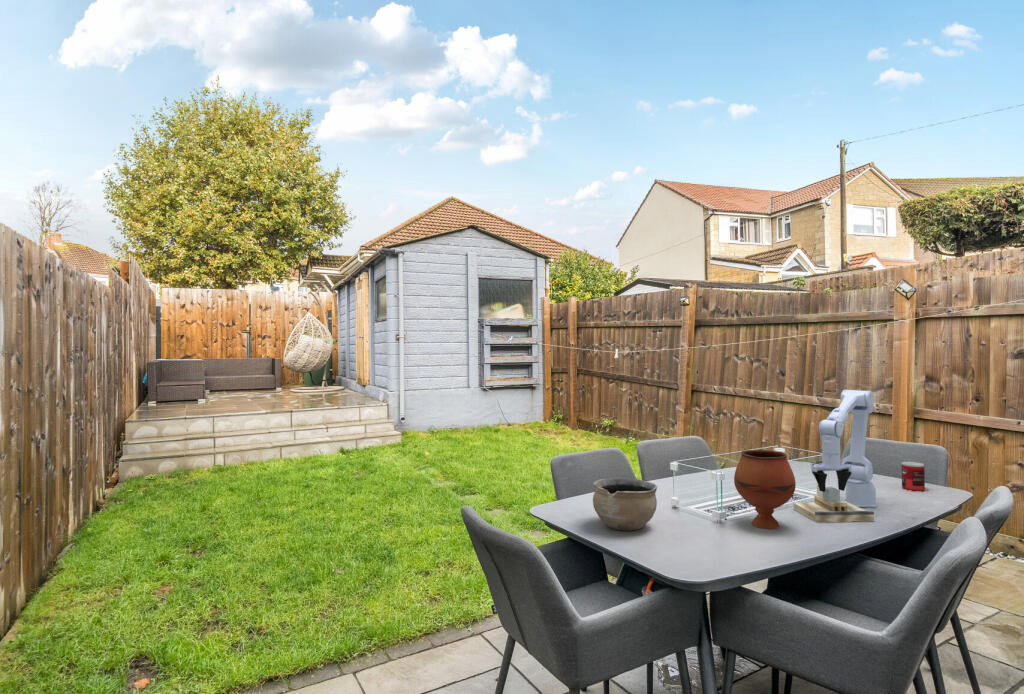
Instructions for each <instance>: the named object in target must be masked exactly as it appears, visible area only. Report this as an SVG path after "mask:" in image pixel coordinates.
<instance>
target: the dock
mask: <svg viewBox="0 0 1024 694" xmlns="http://www.w3.org/2000/svg"><path fill="white" fill-rule="evenodd" d="M846 503H847V511H842V510H841V511H836V510H835V511H829V510H827V509H825V508H823V507H821V506H819V505H817V504H815V501H814V502H793V510H794V511H796V512H798V513H799V514H801V515H803V516H805V517H806V518H808V519H810V520H811V519H812V520H811V521H813V522H815V523H817V522H826V523H852V522H851V521H874V522H875V511H874V510H865V509H863V508H862V507H857V506H854V505H852V504H850V503H848V502H846Z"/></svg>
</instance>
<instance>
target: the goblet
mask: <svg viewBox="0 0 1024 694" xmlns="http://www.w3.org/2000/svg"><path fill="white" fill-rule="evenodd" d="M740 455H741V456H740V458H739V460H738V462H737V466H736V468H735V471H734V474H733V475H734V476H733V482H734V483H733V484H734V486H735V489H736V491H737V494H739V495H740V496H741V498H742V499H743V500H745V501H746V502H747V503H748V504H749V505H750V506H753V507H754V508H755V512H756V513H757V515H756V516H755V517H754V518H753V519H752V521H751V525H752V526H753V527H755V528H758V529H762V530H763V529H764V530H776V529H780V527H781V525H780V523H779V522H778V520H777V519H776V518H775V517H774V516H773V513H775V509H777V508H780V507H782V506H783V505H784V504H786V503H787V502H788V501H789V500H791V498H792V497H793V495H795V490H796V485H797V484H796V483H797V482H796V477H795V475H794V471H793V469H792V467H791V464H790V463H789V460H788V455H787V454H786V452H783V451H776V450H767V449H765V450H763V449H748V450H742V451H741V452H740Z"/></svg>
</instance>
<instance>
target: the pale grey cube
mask: <svg viewBox="0 0 1024 694" xmlns="http://www.w3.org/2000/svg"><path fill="white" fill-rule="evenodd" d="M823 499H825V500H827V501H829V502H833V501H840V500H841V490H839V488H838V489H837V488H835V487H834V488H825V492H823Z"/></svg>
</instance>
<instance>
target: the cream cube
mask: <svg viewBox="0 0 1024 694" xmlns="http://www.w3.org/2000/svg"><path fill="white" fill-rule="evenodd" d="M825 488H835V487H833V486H832V485H829V484H825ZM816 495H817V496H819V497H821V498H823V492H822V491H820V490H819V486H818V484H816Z"/></svg>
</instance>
